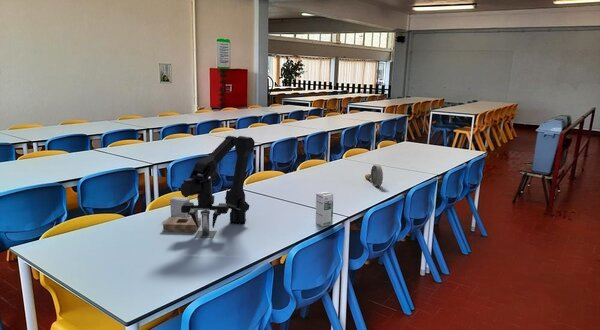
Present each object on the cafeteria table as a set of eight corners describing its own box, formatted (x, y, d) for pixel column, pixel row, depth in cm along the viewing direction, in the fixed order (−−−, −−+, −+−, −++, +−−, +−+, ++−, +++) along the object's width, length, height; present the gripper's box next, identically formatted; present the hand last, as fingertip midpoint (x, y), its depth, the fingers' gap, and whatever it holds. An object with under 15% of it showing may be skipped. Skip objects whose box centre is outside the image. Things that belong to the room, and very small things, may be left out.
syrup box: (322, 226, 197) (323, 196, 194) (314, 222, 202) (316, 192, 198) (332, 224, 200) (334, 194, 197) (324, 220, 205) (326, 190, 202)
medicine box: (190, 215, 207) (190, 198, 205) (185, 218, 202) (185, 200, 201) (175, 213, 209) (175, 196, 207) (170, 216, 205) (169, 199, 203)
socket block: (200, 225, 195) (200, 217, 194) (196, 232, 186) (196, 225, 185) (169, 224, 195) (169, 216, 194) (163, 231, 186) (162, 224, 185)
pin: (211, 232, 186) (210, 210, 184) (209, 236, 182) (208, 213, 180) (202, 232, 186) (201, 210, 184) (200, 235, 182) (199, 213, 180)
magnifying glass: (364, 166, 284) (377, 164, 259) (368, 166, 285) (382, 164, 260) (364, 186, 283) (378, 186, 259) (369, 186, 284) (383, 186, 259)
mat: (217, 231, 188) (217, 230, 188) (213, 238, 180) (213, 238, 180) (198, 231, 188) (198, 230, 188) (194, 238, 180) (194, 237, 180)
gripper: (230, 186, 188) (230, 221, 191) (187, 185, 188) (188, 220, 191) (226, 194, 177) (226, 230, 180) (180, 193, 177) (181, 229, 180)
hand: (205, 227), depth 183 cm, fingers open, 6 cm apart
